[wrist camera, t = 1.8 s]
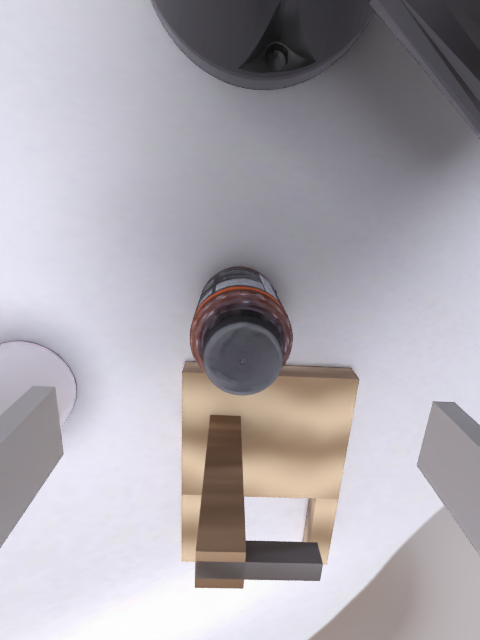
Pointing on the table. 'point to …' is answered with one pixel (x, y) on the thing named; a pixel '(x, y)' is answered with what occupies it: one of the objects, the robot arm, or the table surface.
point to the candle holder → (34, 375)
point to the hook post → (239, 523)
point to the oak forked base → (274, 442)
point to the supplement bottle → (240, 332)
